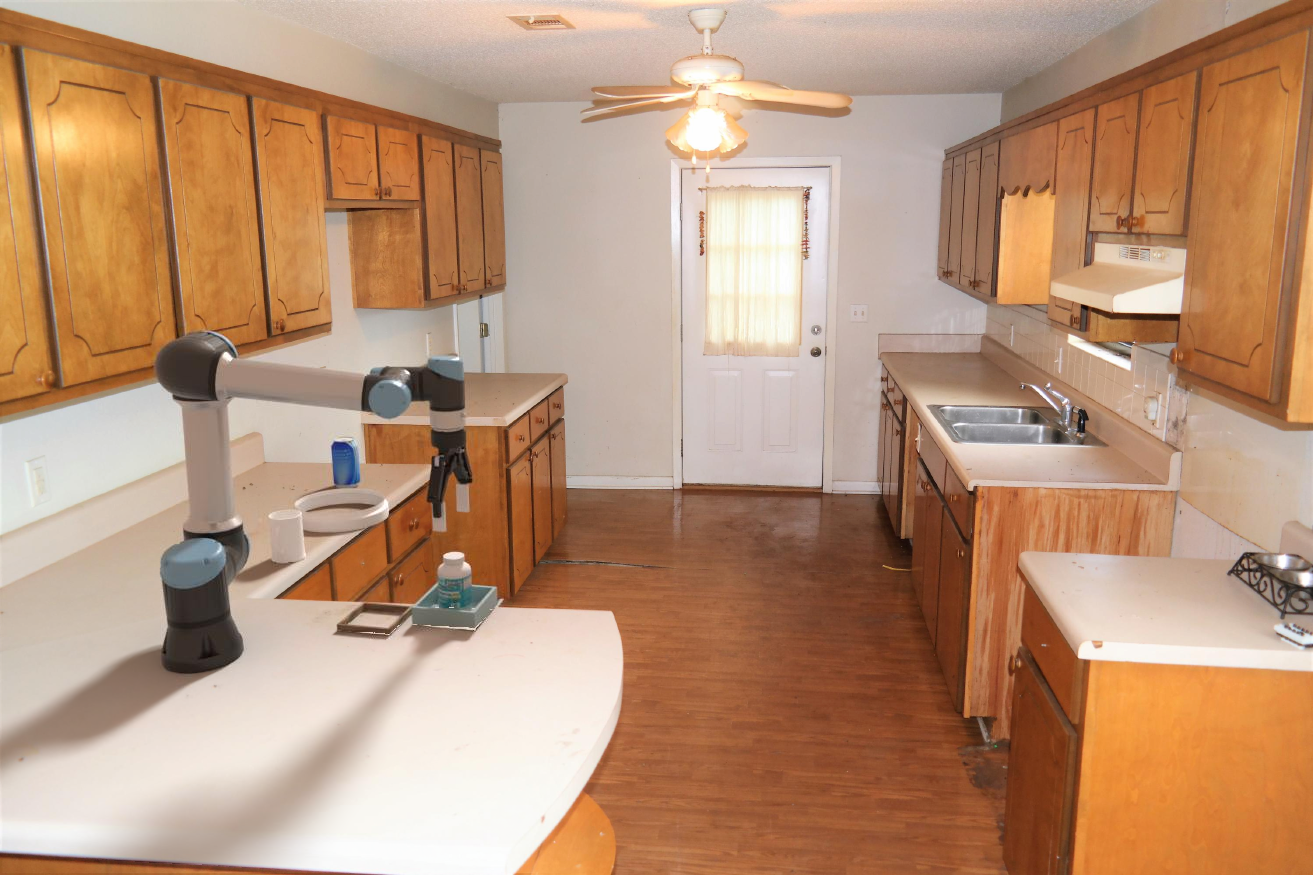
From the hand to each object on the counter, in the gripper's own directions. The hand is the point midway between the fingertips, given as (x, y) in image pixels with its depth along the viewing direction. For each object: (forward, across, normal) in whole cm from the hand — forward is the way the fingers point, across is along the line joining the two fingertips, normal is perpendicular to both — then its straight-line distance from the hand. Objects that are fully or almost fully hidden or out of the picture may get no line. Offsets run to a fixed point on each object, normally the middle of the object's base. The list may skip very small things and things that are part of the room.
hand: (451, 520), depth 205 cm
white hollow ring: (+23, +58, +59) cm, 86 cm away
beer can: (+23, +88, +73) cm, 116 cm away
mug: (+23, +23, +56) cm, 65 cm away
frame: (+22, -7, +16) cm, 28 cm away
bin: (+22, 0, 0) cm, 22 cm away
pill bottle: (+22, 0, 0) cm, 22 cm away
